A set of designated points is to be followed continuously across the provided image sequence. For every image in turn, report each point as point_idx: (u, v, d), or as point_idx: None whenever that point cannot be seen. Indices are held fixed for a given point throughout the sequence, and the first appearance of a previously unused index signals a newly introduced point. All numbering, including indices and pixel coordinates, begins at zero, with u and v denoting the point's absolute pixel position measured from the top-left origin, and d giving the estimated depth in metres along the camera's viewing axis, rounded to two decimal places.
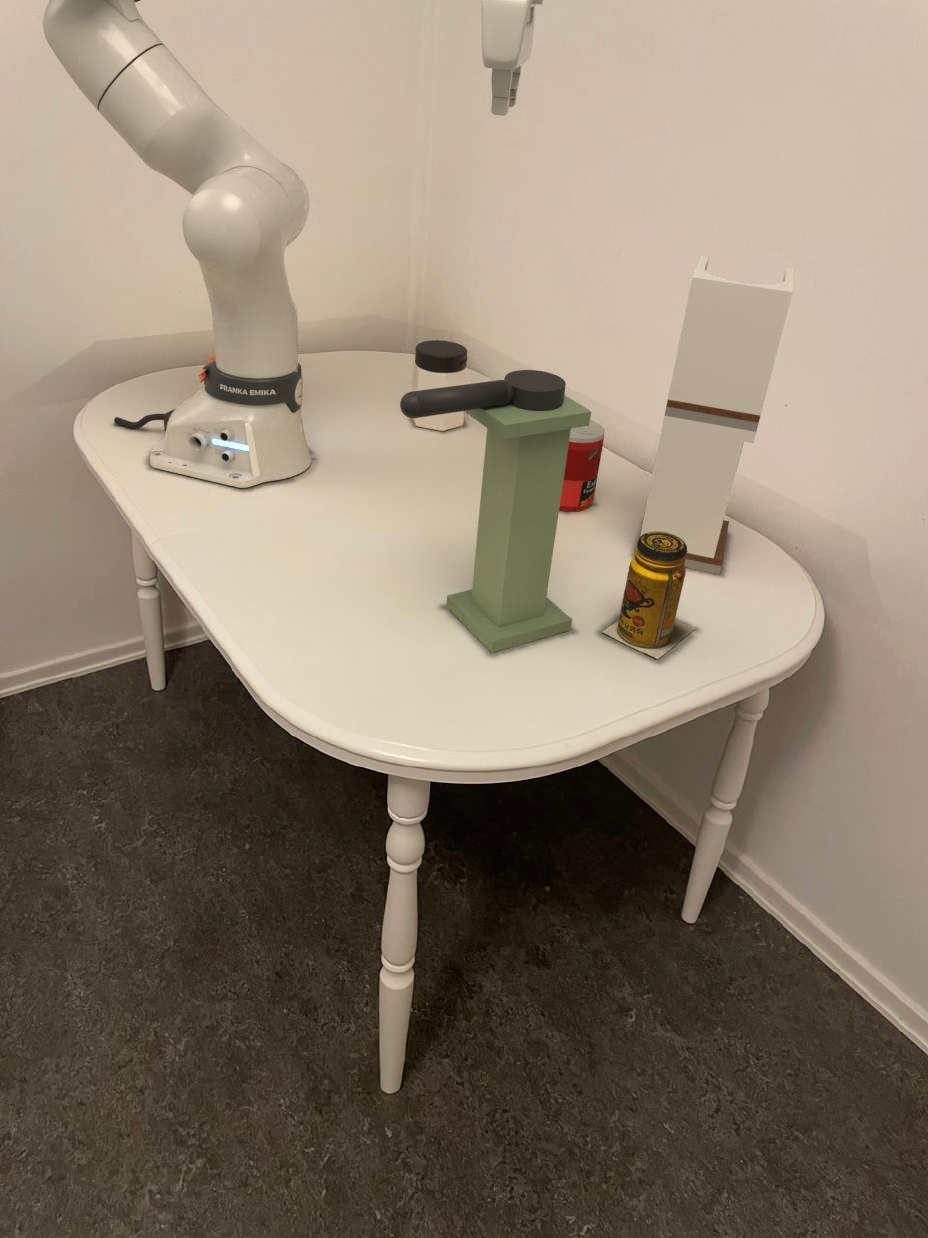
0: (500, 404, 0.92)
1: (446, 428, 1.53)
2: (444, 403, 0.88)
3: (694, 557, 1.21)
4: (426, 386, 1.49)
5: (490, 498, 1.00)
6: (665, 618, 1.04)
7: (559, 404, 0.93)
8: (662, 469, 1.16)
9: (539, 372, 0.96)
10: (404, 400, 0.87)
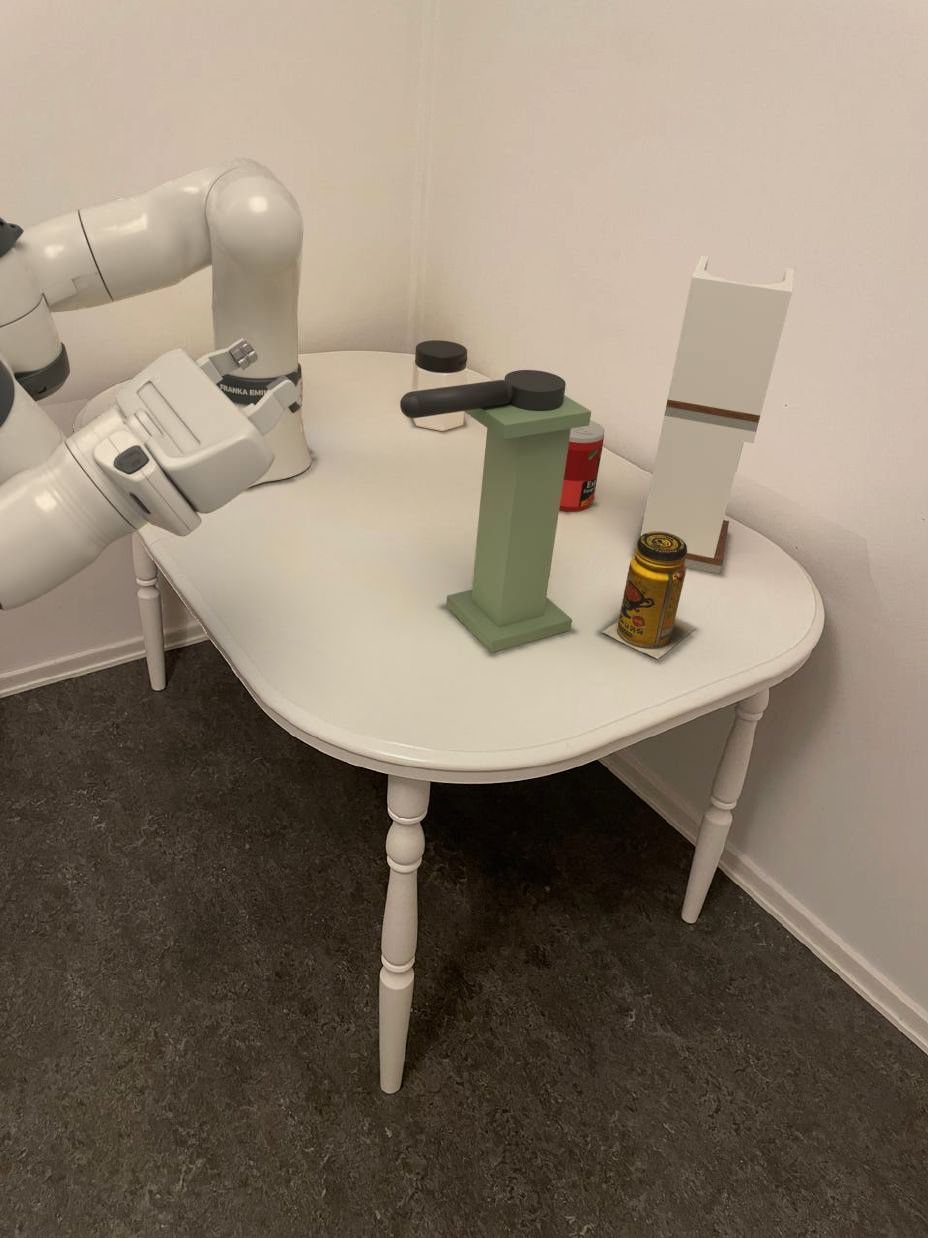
0: (500, 404, 0.92)
1: (446, 428, 1.53)
2: (444, 403, 0.88)
3: (694, 557, 1.21)
4: (426, 386, 1.49)
5: (490, 498, 1.00)
6: (665, 618, 1.04)
7: (559, 404, 0.93)
8: (662, 469, 1.16)
9: (539, 372, 0.96)
10: (404, 400, 0.87)
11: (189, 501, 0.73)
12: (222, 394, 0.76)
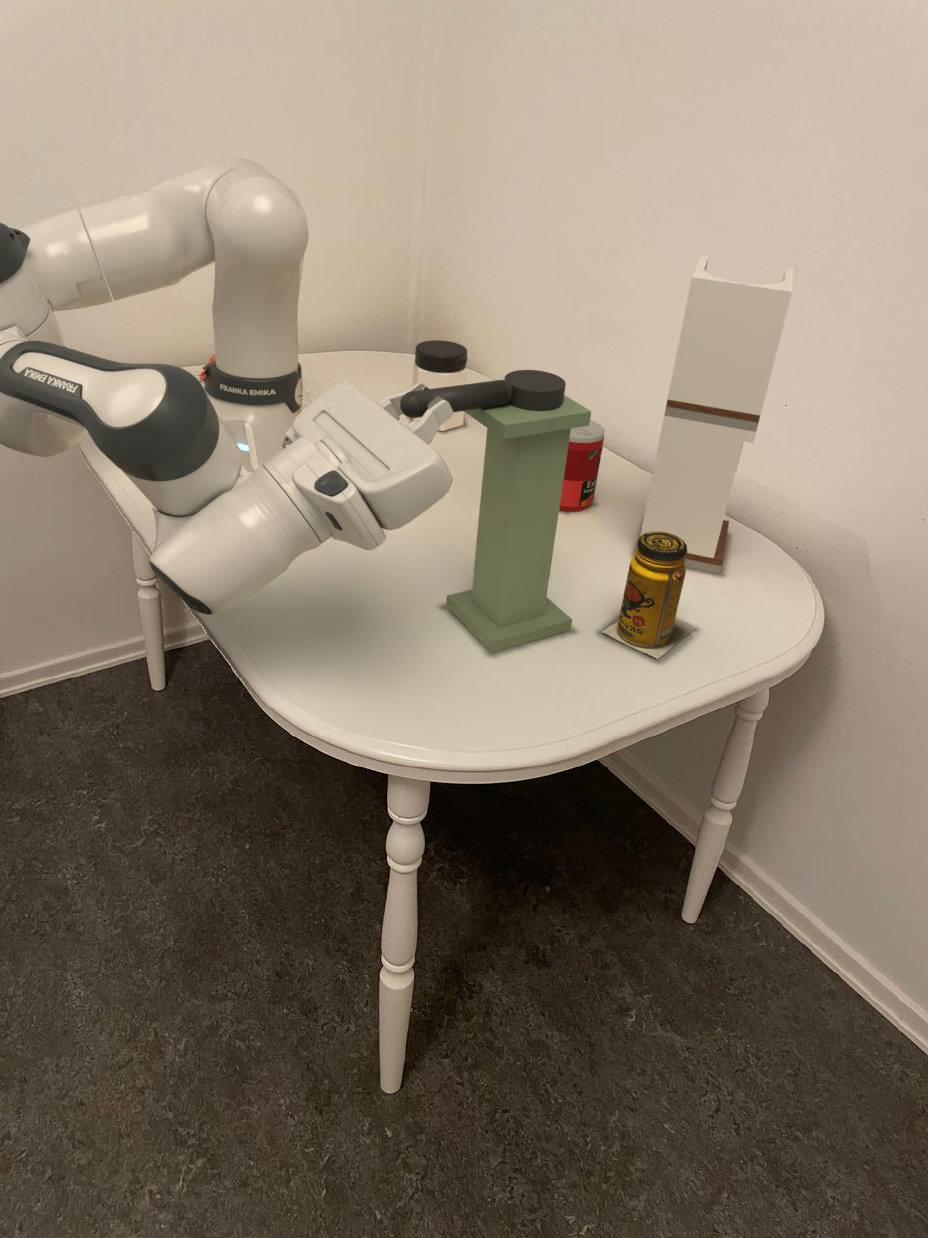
0: (500, 404, 0.92)
1: (446, 428, 1.53)
2: None
3: (694, 557, 1.21)
4: (426, 386, 1.49)
5: (490, 498, 1.00)
6: (665, 618, 1.04)
7: (559, 404, 0.93)
8: (662, 469, 1.16)
9: (539, 372, 0.96)
10: (404, 400, 0.87)
11: (378, 519, 0.83)
12: (401, 424, 0.85)
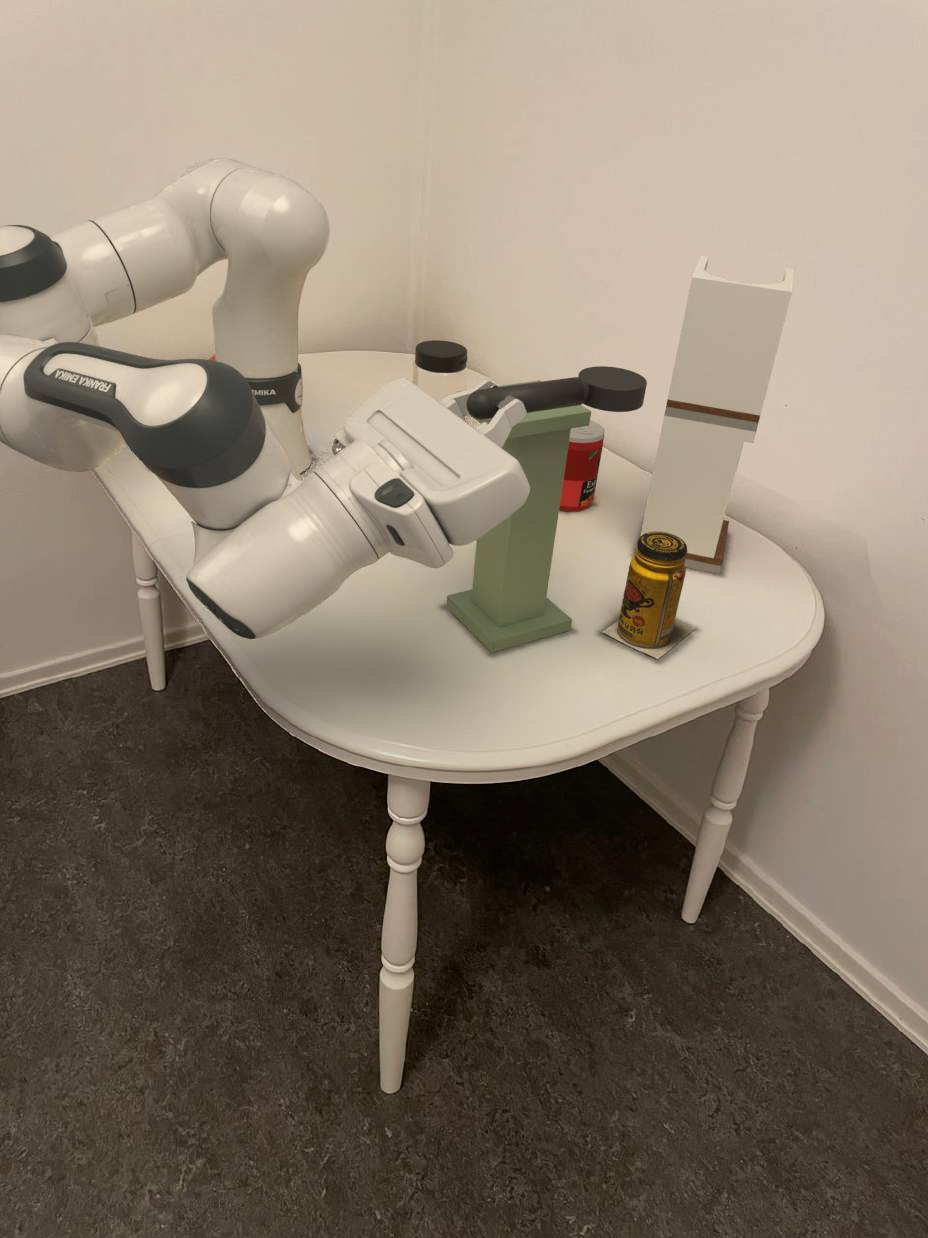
0: (575, 404, 0.82)
1: None
2: None
3: (694, 557, 1.21)
4: (426, 386, 1.49)
5: None
6: (665, 618, 1.04)
7: (640, 404, 0.84)
8: (662, 469, 1.16)
9: (616, 369, 0.86)
10: (471, 400, 0.78)
11: (446, 533, 0.73)
12: (469, 426, 0.76)
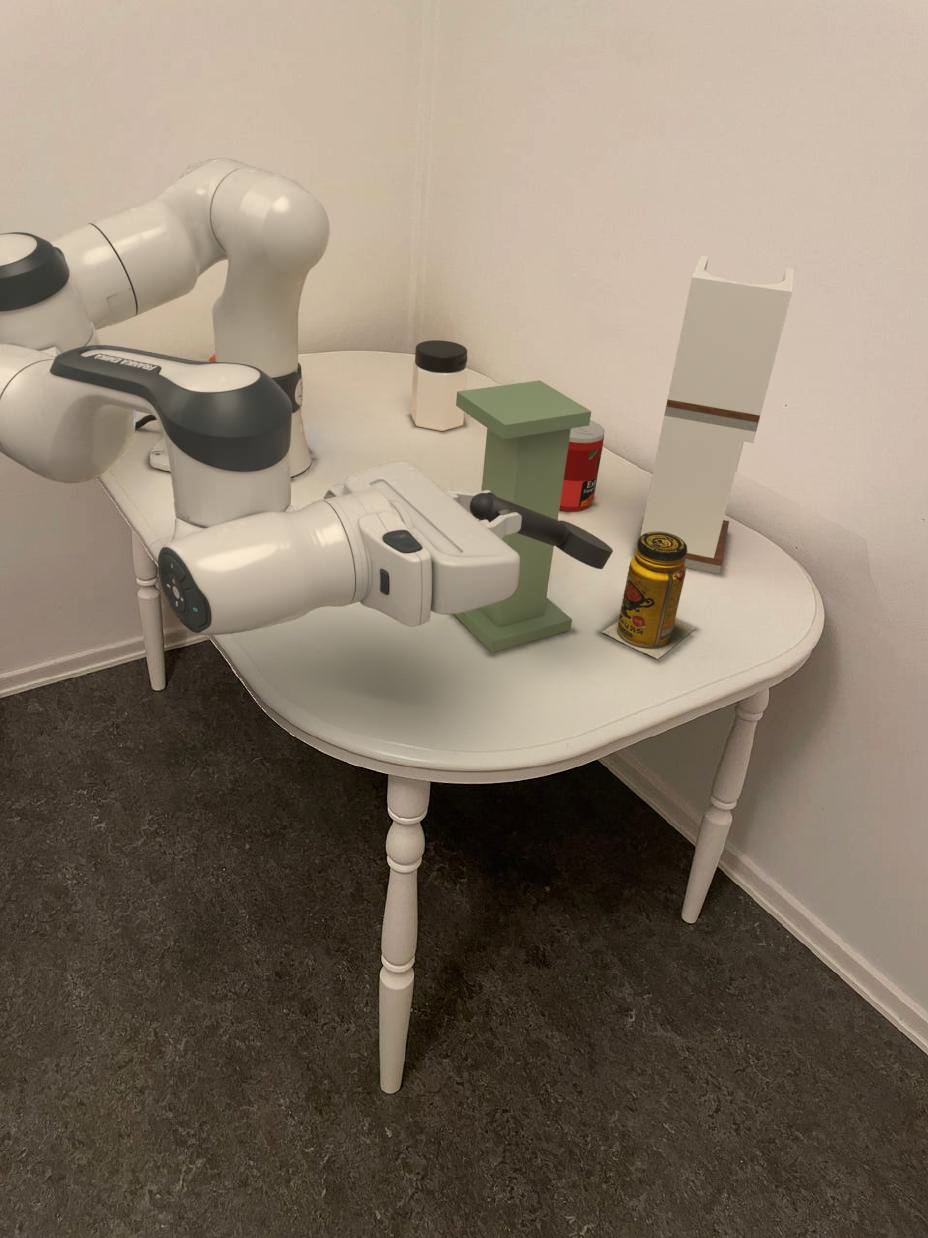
0: (552, 543, 0.90)
1: (446, 428, 1.53)
2: None
3: (694, 557, 1.21)
4: (426, 386, 1.49)
5: None
6: (665, 618, 1.04)
7: (602, 566, 0.92)
8: (662, 469, 1.16)
9: (586, 531, 0.95)
10: (478, 498, 0.83)
11: (432, 597, 0.75)
12: (474, 517, 0.81)
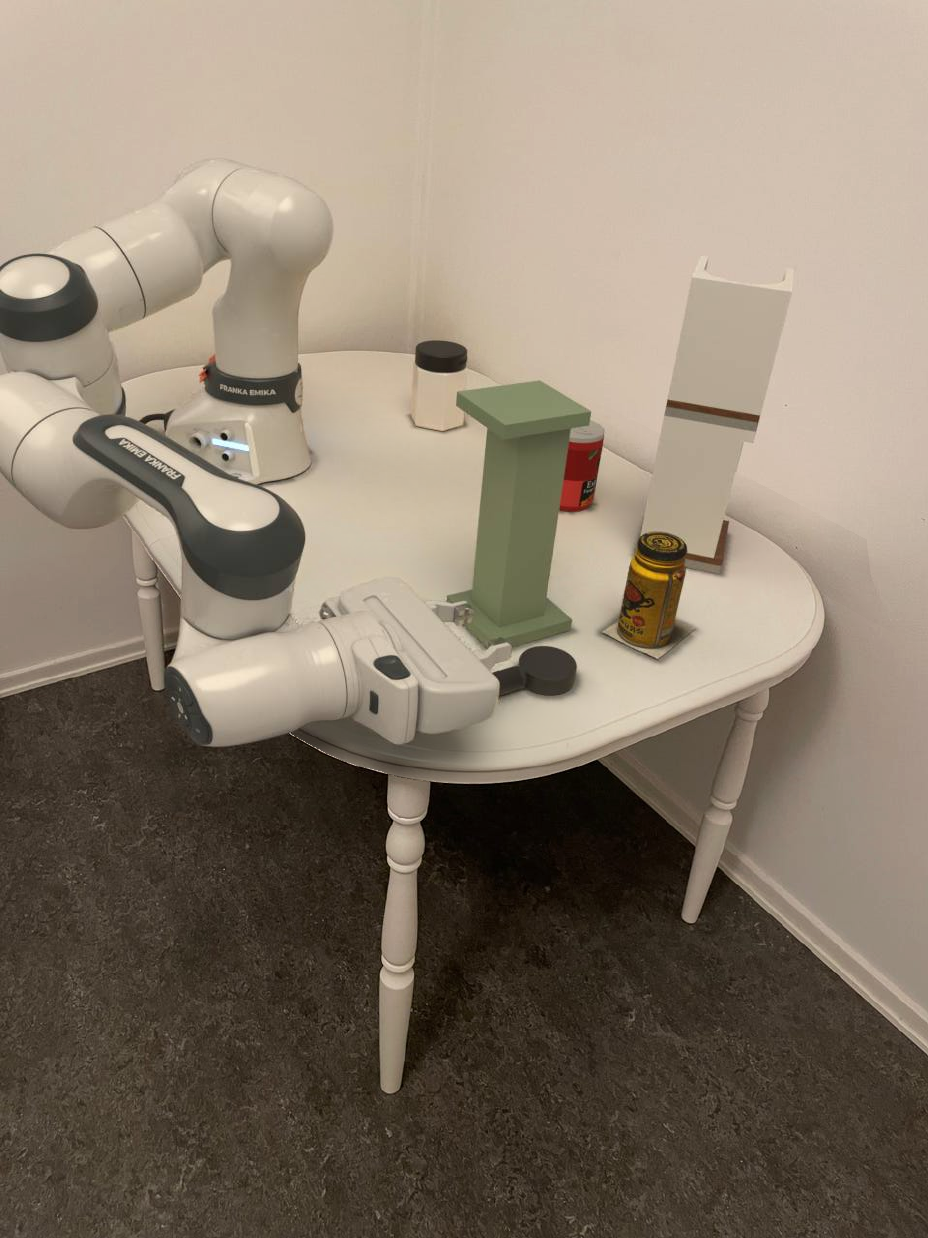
0: None
1: (446, 428, 1.53)
2: None
3: (694, 557, 1.21)
4: (426, 386, 1.49)
5: (490, 498, 1.00)
6: (665, 618, 1.04)
7: (570, 686, 0.99)
8: (662, 469, 1.16)
9: (551, 649, 1.01)
10: None
11: (417, 718, 0.81)
12: (459, 639, 0.87)
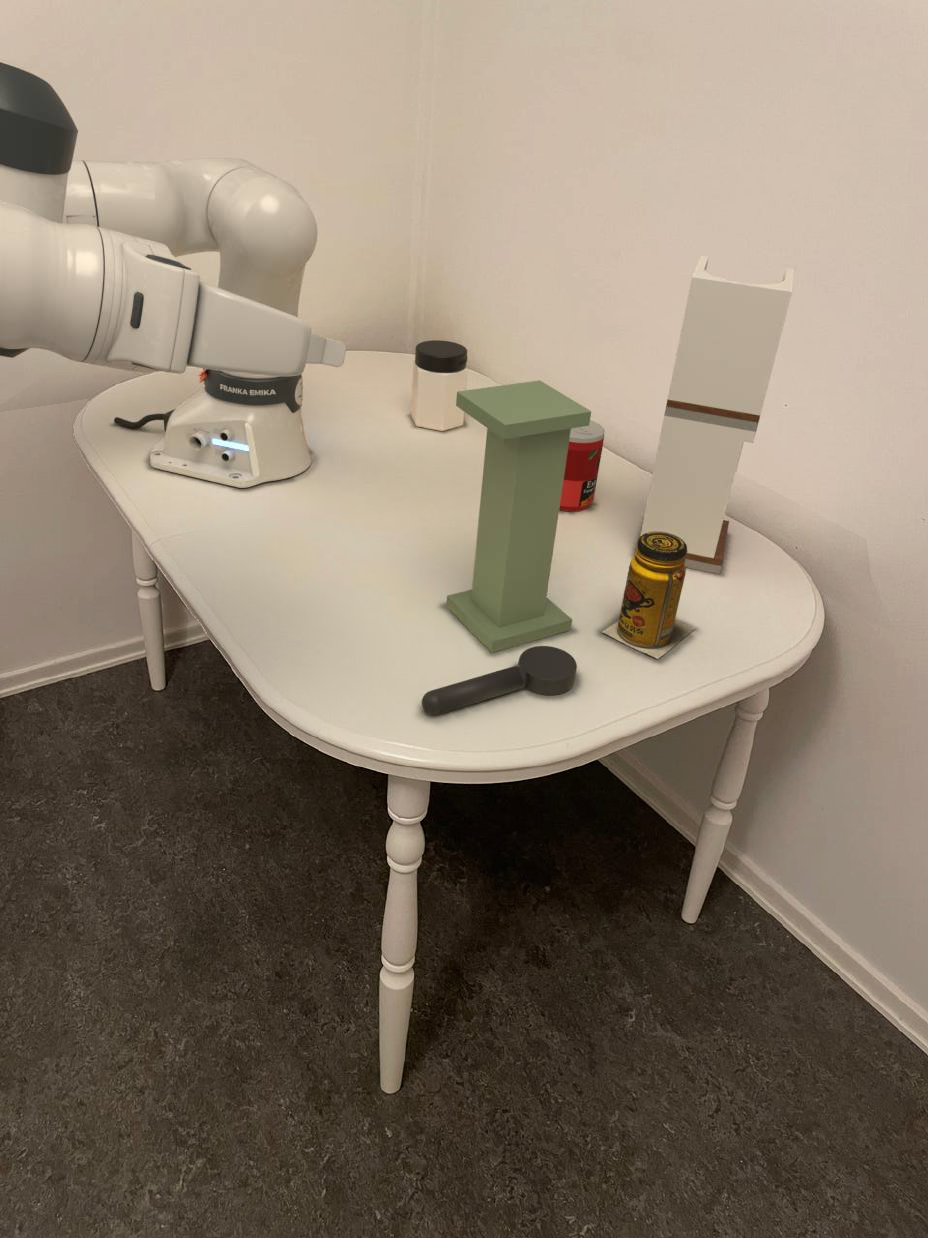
0: None
1: (446, 428, 1.53)
2: (463, 700, 0.94)
3: (694, 557, 1.21)
4: (426, 386, 1.49)
5: (490, 498, 1.00)
6: (665, 618, 1.04)
7: (570, 686, 0.99)
8: (662, 469, 1.16)
9: (551, 649, 1.01)
10: (425, 701, 0.93)
11: (193, 341, 0.61)
12: None
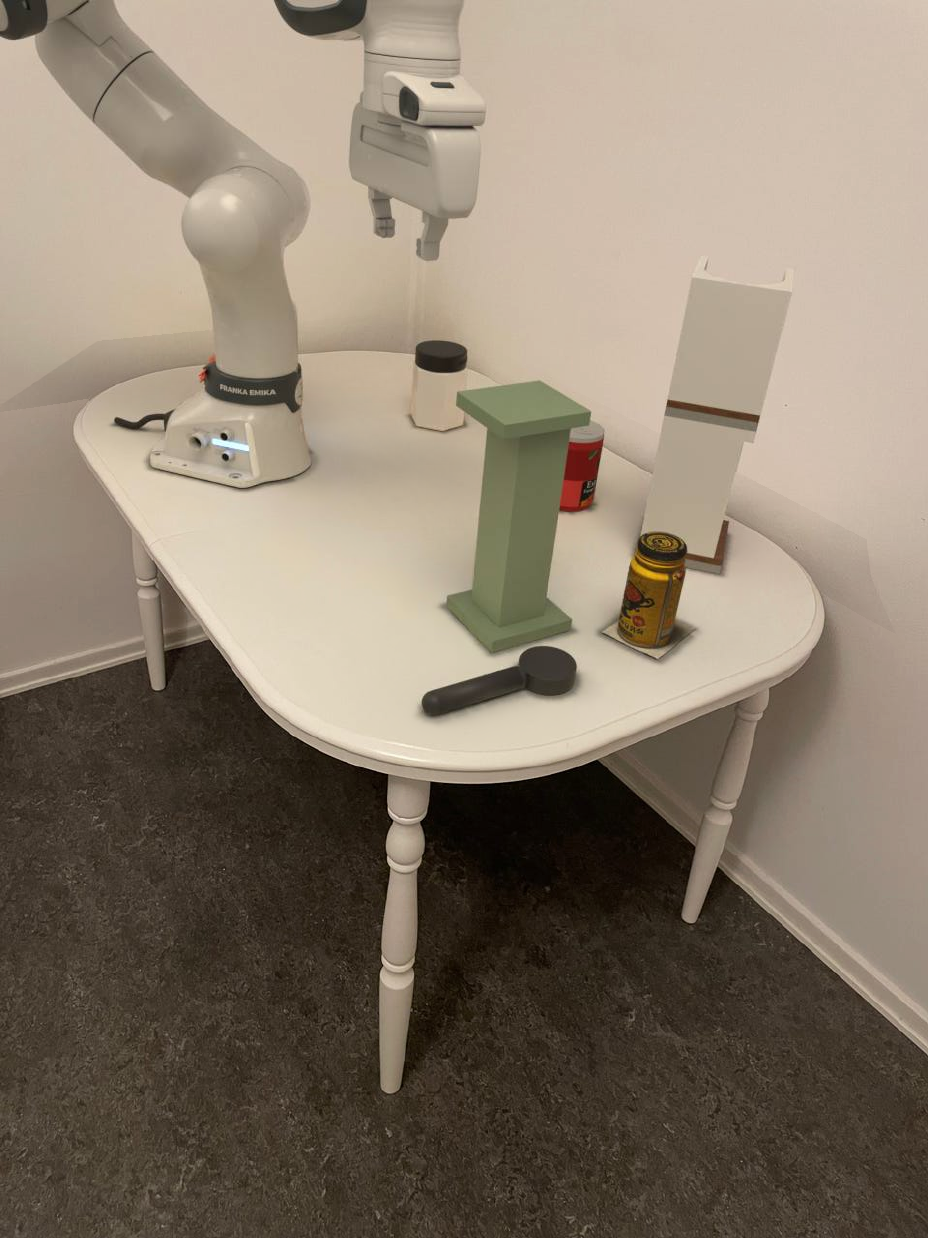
0: None
1: (446, 428, 1.53)
2: (463, 700, 0.94)
3: (694, 557, 1.21)
4: (426, 386, 1.49)
5: (490, 498, 1.00)
6: (665, 618, 1.04)
7: (570, 686, 0.99)
8: (662, 469, 1.16)
9: (551, 649, 1.01)
10: (425, 701, 0.93)
11: (442, 127, 0.84)
12: None
